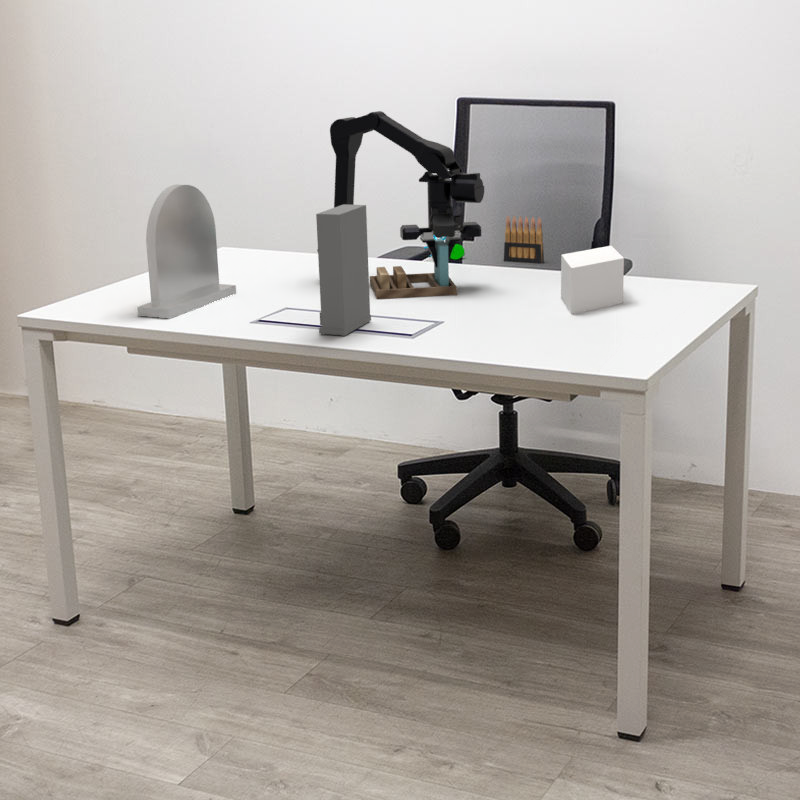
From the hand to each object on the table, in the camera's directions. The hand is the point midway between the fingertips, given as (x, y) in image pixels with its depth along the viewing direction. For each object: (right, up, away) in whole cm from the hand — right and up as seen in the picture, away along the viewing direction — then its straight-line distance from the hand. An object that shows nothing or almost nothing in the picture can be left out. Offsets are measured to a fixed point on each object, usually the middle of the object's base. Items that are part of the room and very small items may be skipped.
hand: (441, 266), depth 297 cm
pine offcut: (-14, -6, 0) cm, 15 cm away
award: (-59, -10, -8) cm, 60 cm away
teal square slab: (0, -4, +1) cm, 4 cm away
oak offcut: (-10, -6, +1) cm, 11 cm away
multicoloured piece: (+3, +7, +41) cm, 41 cm away
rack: (-7, -5, +1) cm, 9 cm away
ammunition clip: (+23, +4, +31) cm, 39 cm away
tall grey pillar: (-21, -17, -35) cm, 44 cm away
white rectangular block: (+33, -10, -16) cm, 38 cm away
